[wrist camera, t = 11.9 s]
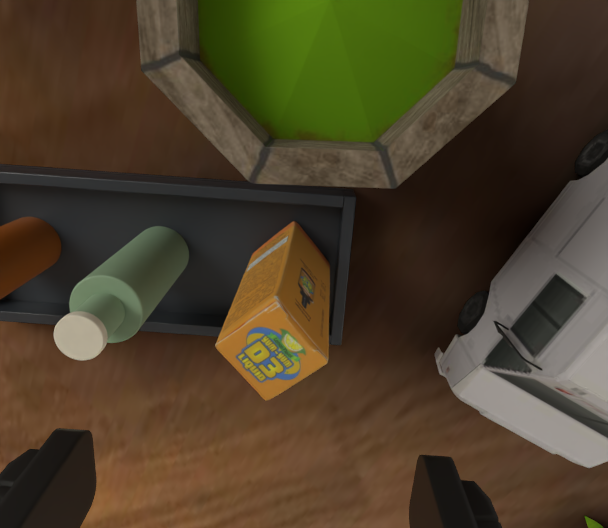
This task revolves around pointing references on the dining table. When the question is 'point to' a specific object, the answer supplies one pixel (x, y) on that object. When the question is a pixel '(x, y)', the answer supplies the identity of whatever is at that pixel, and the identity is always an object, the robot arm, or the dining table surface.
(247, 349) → the supplement box
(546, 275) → the toy truck
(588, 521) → the fruit
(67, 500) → the robot arm
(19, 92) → the dining table surface
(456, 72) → the mug
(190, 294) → the tray
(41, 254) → the amber bottle
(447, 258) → the dining table surface
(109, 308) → the sage bottle
